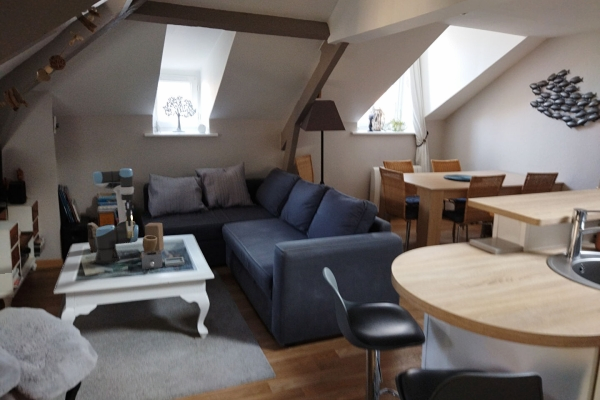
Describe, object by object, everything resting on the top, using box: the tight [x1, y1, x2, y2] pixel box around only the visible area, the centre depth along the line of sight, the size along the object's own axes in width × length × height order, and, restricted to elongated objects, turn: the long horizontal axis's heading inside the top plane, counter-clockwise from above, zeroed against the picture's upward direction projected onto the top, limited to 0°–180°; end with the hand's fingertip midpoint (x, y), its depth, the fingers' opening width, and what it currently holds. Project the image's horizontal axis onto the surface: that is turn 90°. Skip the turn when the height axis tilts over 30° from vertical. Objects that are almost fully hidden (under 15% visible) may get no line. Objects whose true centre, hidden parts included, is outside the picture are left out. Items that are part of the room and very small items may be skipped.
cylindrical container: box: [125, 211, 134, 238], centre depth 287 cm, size 4×4×16 cm
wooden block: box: [144, 222, 165, 252], centre depth 328 cm, size 10×10×20 cm
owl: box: [86, 221, 100, 253], centre depth 331 cm, size 13×13×20 cm
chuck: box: [141, 250, 163, 270], centre depth 292 cm, size 12×18×8 cm, turn 19°
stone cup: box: [139, 235, 157, 260], centre depth 314 cm, size 15×12×15 cm
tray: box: [163, 256, 185, 268], centre depth 300 cm, size 12×12×2 cm
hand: (129, 230), depth 288 cm, fingers closed on cylindrical container, 4 cm apart
